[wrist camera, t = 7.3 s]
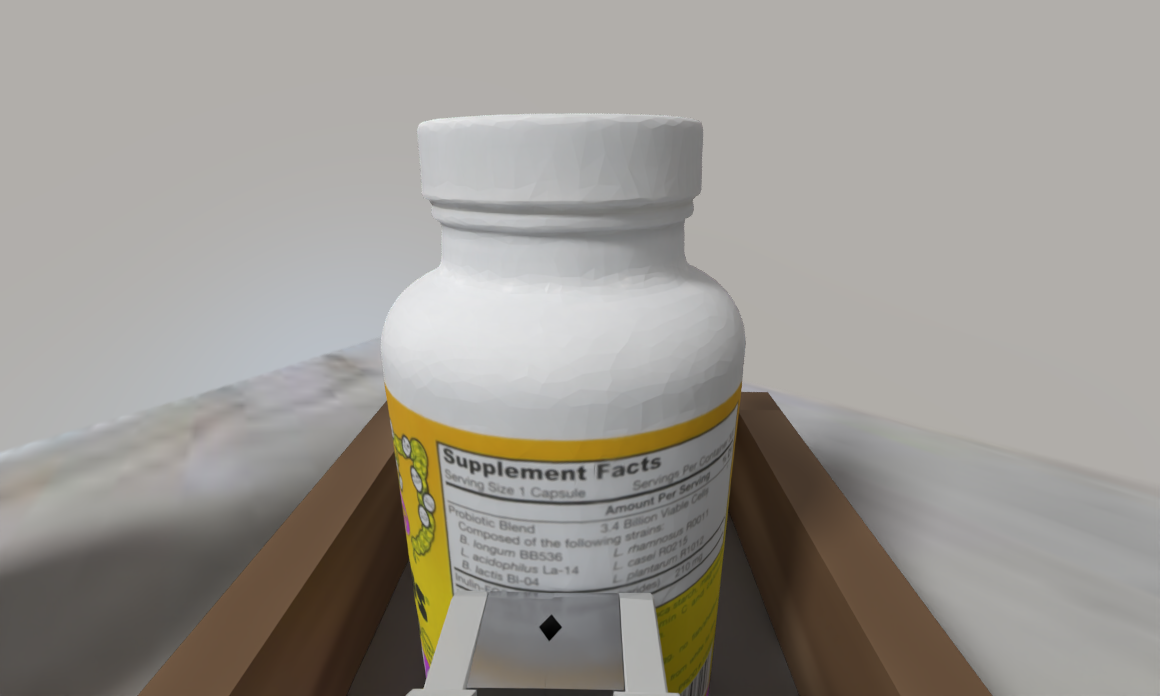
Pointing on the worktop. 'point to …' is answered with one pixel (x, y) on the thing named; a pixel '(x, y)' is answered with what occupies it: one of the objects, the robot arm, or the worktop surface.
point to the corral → (380, 553)
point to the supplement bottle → (566, 375)
